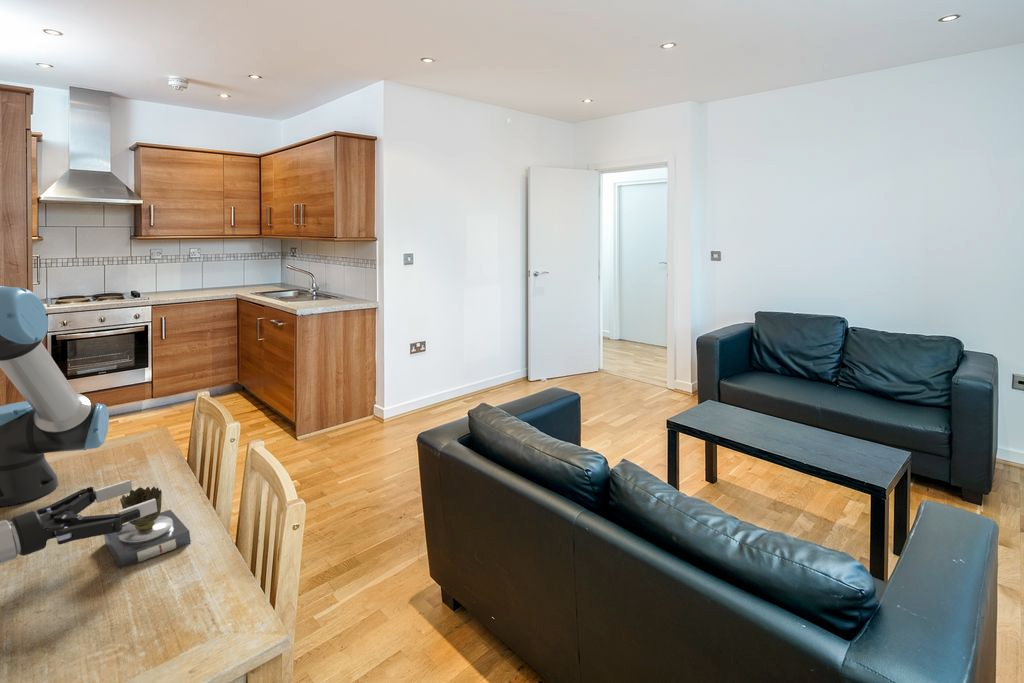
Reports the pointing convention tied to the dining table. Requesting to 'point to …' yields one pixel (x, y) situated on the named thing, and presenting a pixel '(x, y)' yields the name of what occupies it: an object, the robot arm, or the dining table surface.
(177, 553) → the dining table surface
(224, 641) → the dining table surface
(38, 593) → the dining table surface
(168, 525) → the kitchen scale
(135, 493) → the cup
